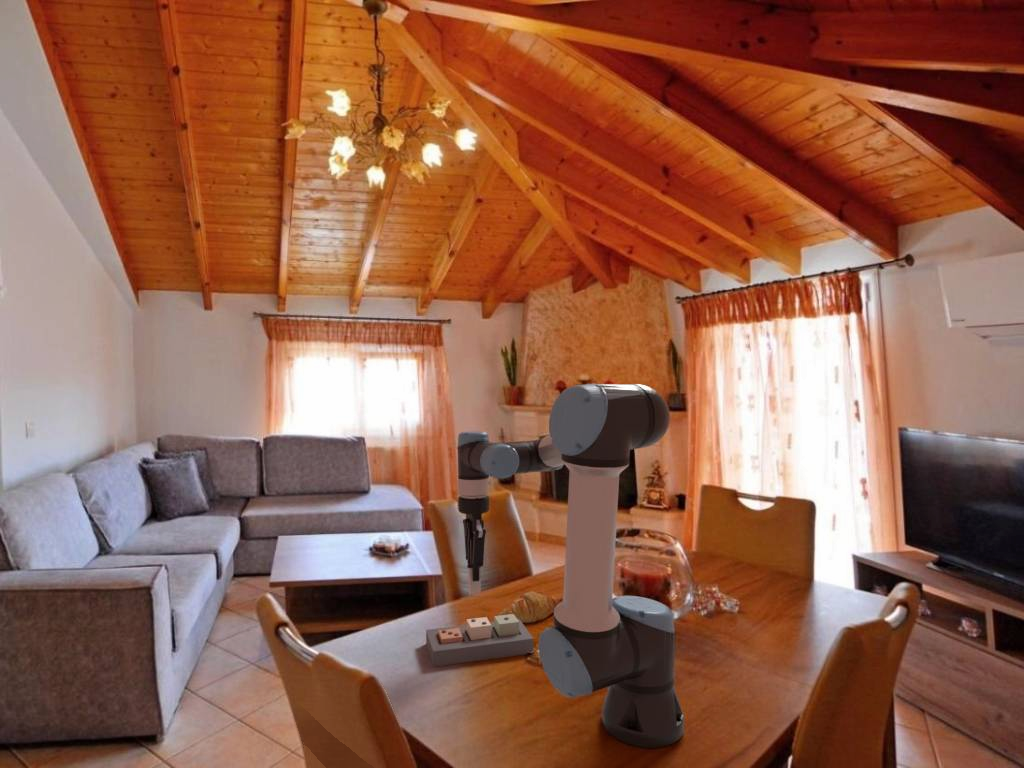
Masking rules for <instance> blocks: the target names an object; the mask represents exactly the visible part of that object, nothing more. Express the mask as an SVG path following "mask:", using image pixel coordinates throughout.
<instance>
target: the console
mask: <svg viewBox="0 0 1024 768" xmlns="http://www.w3.org/2000/svg"><path fill="white" fill-rule="evenodd" d="M518 621H519V634H516V635H508V636H500V637H499V635H498V633H497V632H496V630H495V628H494V621H489V622H490V624H491V638H485V639H477V640H471V639H470V637H469V635H468V633H467V624H464V625H455V626H447V627H439V628H430V629H426V630H425V632H426V633H425V636H426V638H425V639H426V640H425V643H426V644H425V645H426V648H427V650H428V654H429V658H430V660H431V663H432V667H434V668H435V667H441V666H449V665H455V664H456V665H457V664H463V663H472V662H478V661H486V660H493V659H500V658H507V657H514V656H515V657H516V656H521V655H528V654H527V653H529V652H532V651H533V652H534V637H533V636H532V634H531V633H530V632H529V630H528V629H527V627H526V626H525V624H524V623H522V622H521V621H520V619H518ZM454 628H459V630H460V632H461V634H462V636H463V642H457V643H449V644H441V645H440V643H439V641H438V630H446V629H454Z"/></svg>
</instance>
